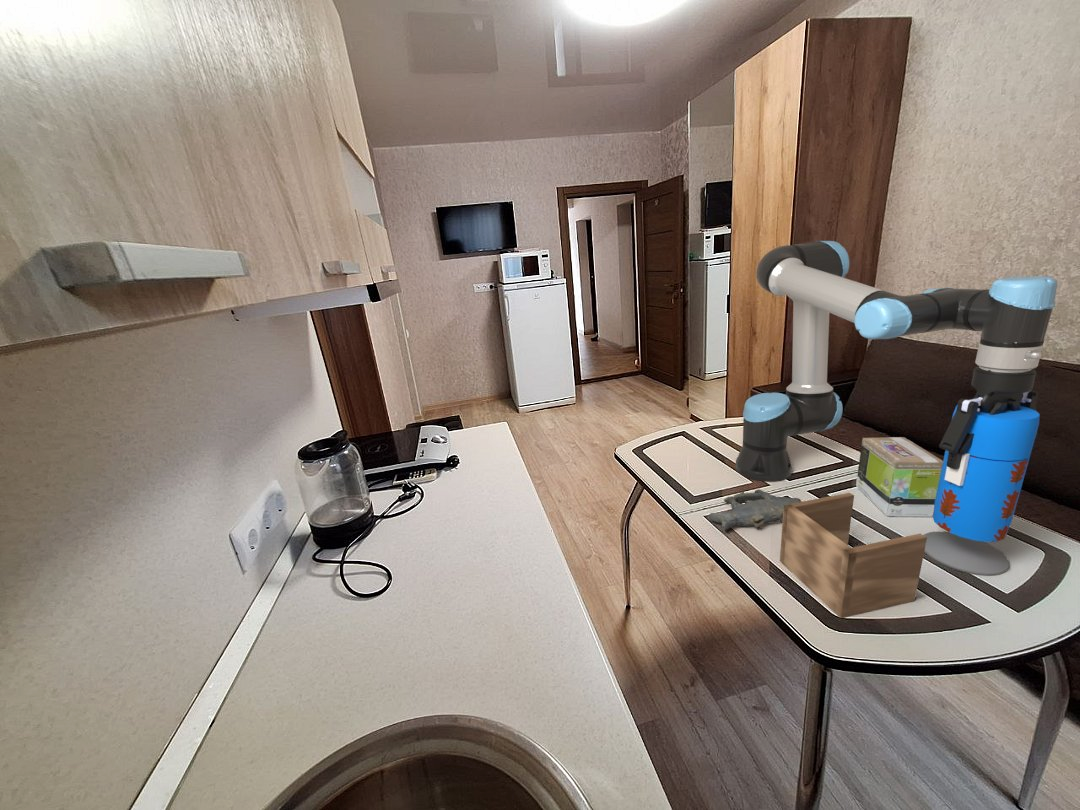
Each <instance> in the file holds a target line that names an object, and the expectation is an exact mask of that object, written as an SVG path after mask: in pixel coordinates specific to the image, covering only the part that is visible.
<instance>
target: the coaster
mask: <svg viewBox="0 0 1080 810" xmlns="http://www.w3.org/2000/svg"><path fill="white" fill-rule="evenodd" d="M923 535H924V536H926V537H927V541H926V546H925V551H924V554H926V555H927V556H928V557H929V558H931V559H932V560H934V561H936V562H937V563H939V564H940V565H943V566H946V567H948V568H949V569H953V570H955V571H958V572H963V573H966V574H971V575H975V576H976V575H977V576H985V577H986V576H987V577H990V576H991V577H992V576H1000V575H1002V574H1005V573H1007V571H1008V569H1009V567H1010V561H1009V559H1008V557H1007V555H1005V554H1004V553H1003V552H1002V551H1000V550H999V549H998V548H997V547H994V546H993V545H991V544H989V543H988V542H983V541H976V540H971V539H967V538H963V537H960V536H957V535H955V534H952V533H950V532H948V531H930V532H926V533H924V534H923Z"/></svg>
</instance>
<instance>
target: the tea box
mask: <svg viewBox="0 0 1080 810" xmlns="http://www.w3.org/2000/svg"><path fill="white" fill-rule="evenodd" d="M861 441H862V442H861V447H860V454H859V462H858V468H857V474H856V484H855V486H856V488H857V489H858V490H859V491H860V492H861V493H863V494H864V496H865V497H867V498H868V499H869V500H870V501H871V502H872V503H873V504H874V506H876V507H877V508H878V509H879V510H880V511H881V512H882V513H883V514H884V516H886V517H902V518H904V517H905V518H906V517H908V518H910V517H912V518H933V512H934V504H935V498H936V493H937V488H938V484H939V479H940V474H941V469H942V464H943V460H942V459H941V458H939V457H937V456H936V455H934V454H932V453H931V452H929V451H928V450H926V449H924V448H923V447H921V446H919V445H918V444H916V443H914V442H913V441H911V440H910V439H907V438H906V437H904V436H899V437H897V436H896V437H895V436H893V437H890V436H889V437H888V436H887V437H862V440H861Z"/></svg>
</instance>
